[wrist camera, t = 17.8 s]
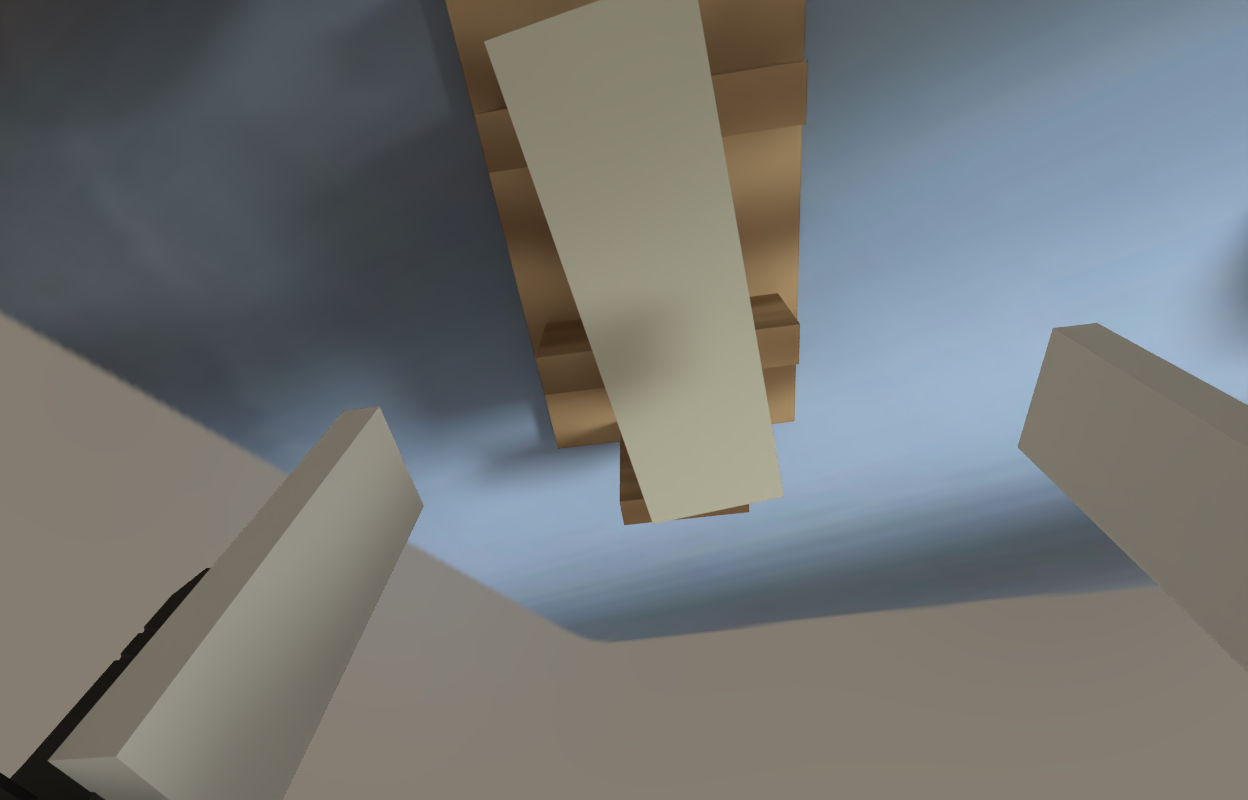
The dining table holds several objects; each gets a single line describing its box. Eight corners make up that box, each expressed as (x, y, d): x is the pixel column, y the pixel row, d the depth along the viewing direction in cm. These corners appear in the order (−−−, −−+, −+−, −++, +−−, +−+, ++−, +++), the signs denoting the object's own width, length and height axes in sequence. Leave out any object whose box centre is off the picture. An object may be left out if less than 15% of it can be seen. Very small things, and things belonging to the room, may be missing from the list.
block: (528, 52, 19) (484, 41, 13) (669, 3, 18) (692, -33, 12) (646, 422, 27) (653, 524, 21) (746, 399, 26) (784, 496, 20)
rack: (435, -63, 21) (345, -129, 14) (801, -131, 20) (894, -239, 13) (559, 438, 33) (543, 533, 26) (789, 412, 32) (834, 503, 25)
